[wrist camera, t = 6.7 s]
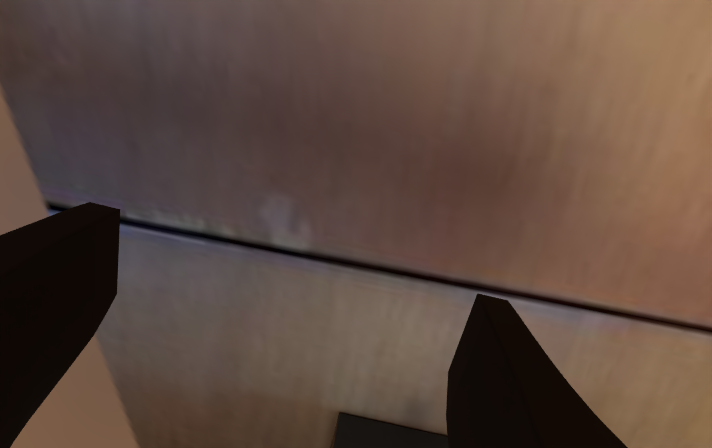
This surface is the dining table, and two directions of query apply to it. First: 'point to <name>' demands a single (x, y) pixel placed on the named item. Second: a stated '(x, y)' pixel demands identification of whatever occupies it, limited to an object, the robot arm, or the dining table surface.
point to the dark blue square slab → (381, 435)
